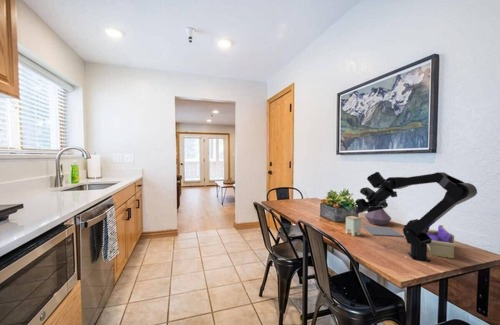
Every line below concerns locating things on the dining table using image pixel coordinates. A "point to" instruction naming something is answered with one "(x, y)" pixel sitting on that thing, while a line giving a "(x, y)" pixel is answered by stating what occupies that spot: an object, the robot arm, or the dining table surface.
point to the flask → (378, 217)
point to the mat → (382, 231)
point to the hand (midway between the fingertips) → (361, 212)
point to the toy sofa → (441, 242)
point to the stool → (353, 225)
